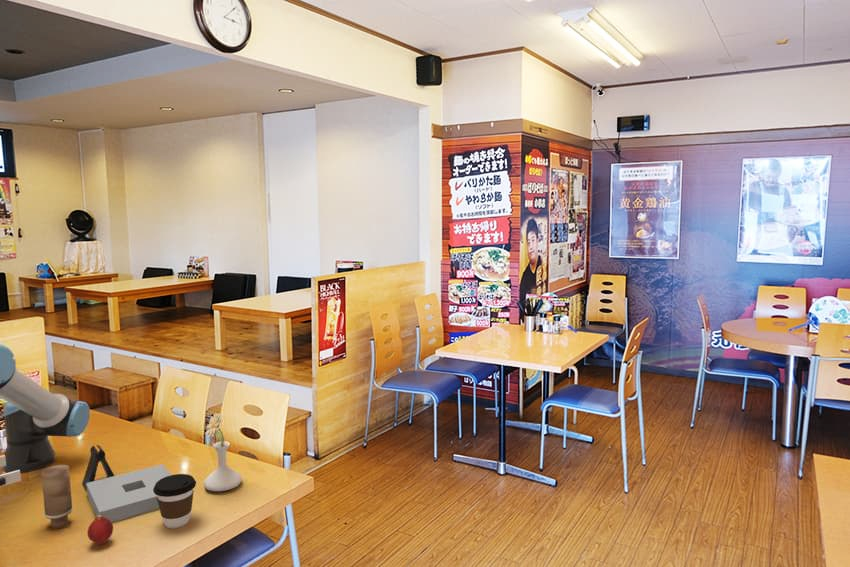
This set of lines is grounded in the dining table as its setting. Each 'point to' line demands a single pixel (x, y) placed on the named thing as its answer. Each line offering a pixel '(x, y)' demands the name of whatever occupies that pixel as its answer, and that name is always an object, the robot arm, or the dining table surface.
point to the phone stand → (93, 464)
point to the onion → (100, 530)
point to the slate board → (126, 493)
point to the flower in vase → (220, 461)
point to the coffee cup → (175, 499)
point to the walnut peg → (57, 494)
